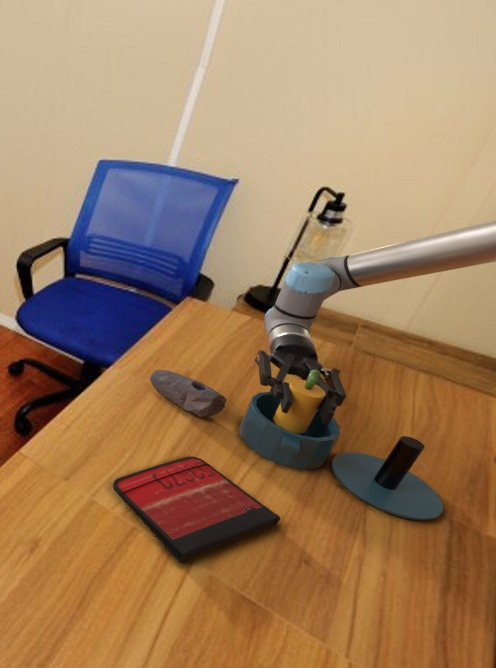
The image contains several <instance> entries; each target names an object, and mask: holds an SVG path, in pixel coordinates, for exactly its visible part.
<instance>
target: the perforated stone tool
mask: <svg viewBox="0 0 496 668" xmlns="http://www.w3.org/2000/svg"><path fill="white" fill-rule="evenodd" d="M149 381H150V384H151V385H152V387H153V388H154V390H156V392H158V393H159V394H160V395H161V396H162V397H164V398H166V399H168V400H169V401H170V402H171V403H172V404H175V405H176V406H178V407H179V408H181V409H182V410H184V411H186V412H189V413H191V414H193V415H196V416H197V417H199V418H206V417H213V416H215V415H218V414H220V413H221V412H222V411H223V409H224V408H226V403H227V401H228V399H227V398H226V397H225V396H224V395H223V394H222V393H220V392H219V391H216V390H215V389H213V388H212V387H210V386H208V385H207V384H204V383H202V382H201V381H199V380H196V379H194V378H191V377H189V376H186V375H183V374H180V373H178V372H175V371H171V370H168V369H167V370H166V369H155V370H153V371H152V373H151V374H150V375H149Z"/></svg>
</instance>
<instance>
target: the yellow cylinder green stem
mask: <svg viewBox="0 0 496 668" xmlns="http://www.w3.org/2000/svg"><path fill="white" fill-rule="evenodd" d="M319 375H320V376H321V374H320V372H319V371H318V370H311V371H310V373H309V376H308V378H307V381H305V380H302V379H292V380H291V381H290V382H289V387H290V392H291V397H292V401H293V403H292V405H291V407H290V409H289V411H288V413H283V412H282V409H281V403H280V405H279V407H278V409H277V411H276V413H275V415H274V417H273V420H274V422H275V423H276V424H277V425H278V426H280V427H281V428H283V429H285V430H288V431H290V432H293V433H298V434H301V433H305V432H306V430H307V428H308V427H309V425H310V423H311V421H312V419H313V417H314V415H315V414H316V412H317V410H318V408H319V406H320V404H321V402H322V401H323V399H324V397H325V395H326V394H325V391H324V390H323V389H322V388H321V387H319V386H318V385H316V383H317V382H318V377H319Z"/></svg>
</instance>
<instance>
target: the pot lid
mask: <svg viewBox="0 0 496 668" xmlns="http://www.w3.org/2000/svg"><path fill="white" fill-rule="evenodd" d="M425 447H426V446H425V444H424V443H423V442H421V441H420V440H419V439H417V438H414V437H412V436H407V435H403V436H400V437H399V439H398V440H397V442H396V443H395V445H394V446H393V448H391V449H392V450H391V451H390V453H389V454H388V456H386V459H384V458H381V457H377V456H375V455H370V454H367V453H361V452H352V451H351V452H341V453H339V454H337V455H335V456H334V457H333V459H332V460H331V464H330V465H331V471H332V473H333V475H334V476H335V478H336V479H337V480H338V481H339V482H340V483H341V485H342V486H343V487H345V489H347V490H348V491H349V492H351V493H352V494H353V495H355V496H356V497H357V498H358V499H360V500H362V501H363V502H366V503H367V504H369V505H371V506H373V507H375V508H377V509H379V510H381V511H383V512H386V513H388V514H391V515H393V516H397V517H400V518H404V519H409V520H415V521H431V520H435V519H437V518H439V517H440V516H441V515H442V513H443V510H444V505H443V501H442V499H441V498H440V495H438V493H437V492H436V491H435V490H434V489H433V487H431V486H430V485H429V484H428V483H427V482H425V481H424V480H423V479H421V478H420V477H419V476H418V475H416V474H415V473H412V472H411V471H410V469H411V468H412V467H413V466H414V464H415V463H416V461H417V459H418V458H419V456H420V455H421V454H422V453H423V451H424V449H425Z"/></svg>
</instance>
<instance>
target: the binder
mask: <svg viewBox="0 0 496 668" xmlns="http://www.w3.org/2000/svg"><path fill="white" fill-rule="evenodd" d="M112 488H113V490H114V491H115V493H116V494H117V495H118V496H119V498H121V499H122V500H123V501H124V503H125V504H126V505H127V506H128V507H129V508H130V509H131V510H132V512H133V513H135V515H137V517H138V518H139V519H140V520H141V521H142V523H143V524H145V525H146V527H148V529H149V530H150V531H151V532H152V533H153V535H154V536H155V537H156V538H157V539H158V540H159V541H160V543H162V545H163V546H164V547H165V548H166V549H167V550H168V552H169V553H171V555H172V556H173V557H174V558H175V559H176V560H177V561H178V562H179V563H184V562H186V561H188V560H191V559H194V558H196V557H199V556H201V555H205V554H207V553H210V552H212V551H214V550H217V549H220V548H222V547H225V546H227V545H229V544H231V543H234V542H237V541H239V540H242V539H244V538H246V537H249V536H252V535H254V534H257V533H259V532H261V531H264V530H266V529H269V528H271V527H275V526H277V525H278V523H279V522H280V521H281V516H280V515H279V514H277V513H275V512H274V511H273V510H271V509H270V508H268V507H267V506H266V505H264V504H263V503H262V502H260V501H259V500H257V499H256V498H255V497H253V496H252V495H251V494H249V493H248V492H247V491H245V490H244V489H242V488H241V487H240V486H239V485H237V484H236V483H235V482H233V481H232V480H231V479H229V478H228V477H227V476H225V475H224V474H223V473H221V472H220V471H218V470H217V469H216V468H214V467H213V466H211V465H210V464H209V463H208V462H207V461H205V460H203V459H202V458H199V457H196V456H186V457H182V458H178V459H173V460H171V461H167V462H164V463H160V464H158V465H154V466H151V467H148V468H145V469H141V470H138V471H136V472H135V471H134V472H132V473H129V474H126V475H123V476H121V477H118V478H116V479H115V480H114V481H113V483H112Z"/></svg>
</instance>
